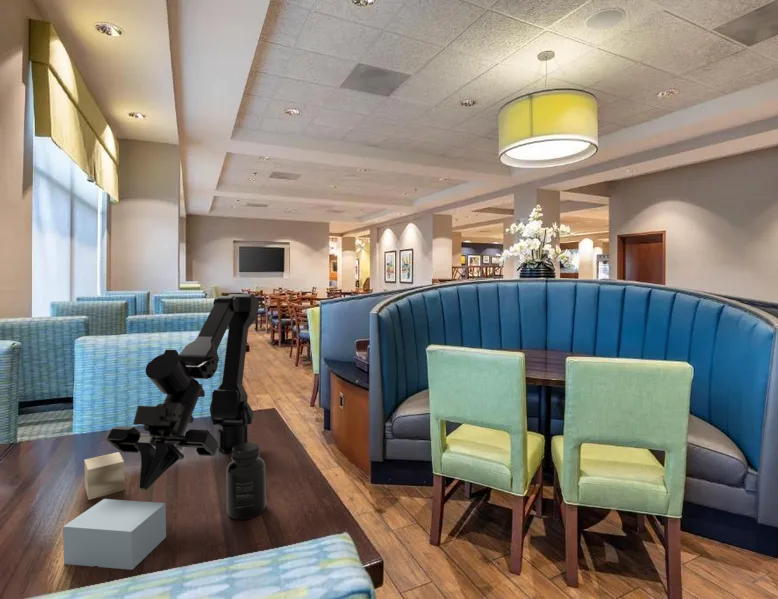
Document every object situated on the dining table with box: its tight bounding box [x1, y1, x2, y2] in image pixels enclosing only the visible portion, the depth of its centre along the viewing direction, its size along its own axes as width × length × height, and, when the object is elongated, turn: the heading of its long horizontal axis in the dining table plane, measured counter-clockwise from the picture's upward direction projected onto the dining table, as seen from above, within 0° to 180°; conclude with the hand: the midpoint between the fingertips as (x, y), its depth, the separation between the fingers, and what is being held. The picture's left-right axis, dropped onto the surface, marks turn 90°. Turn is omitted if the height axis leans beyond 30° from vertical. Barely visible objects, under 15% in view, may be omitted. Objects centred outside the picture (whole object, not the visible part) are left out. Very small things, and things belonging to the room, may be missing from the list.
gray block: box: [62, 498, 167, 570], centre depth 67 cm, size 6×11×8 cm
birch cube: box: [83, 451, 126, 501], centre depth 86 cm, size 6×6×6 cm
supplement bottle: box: [225, 442, 267, 521], centre depth 79 cm, size 7×7×12 cm
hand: (142, 489), depth 73 cm, fingers closed
